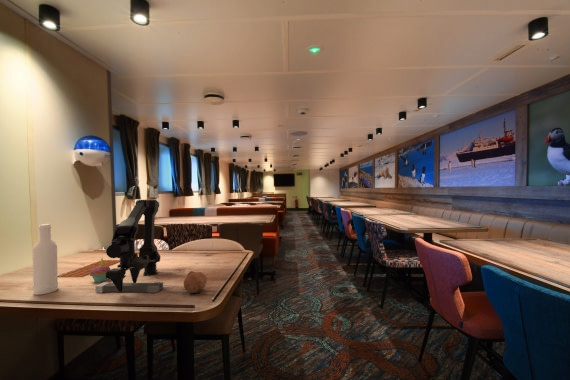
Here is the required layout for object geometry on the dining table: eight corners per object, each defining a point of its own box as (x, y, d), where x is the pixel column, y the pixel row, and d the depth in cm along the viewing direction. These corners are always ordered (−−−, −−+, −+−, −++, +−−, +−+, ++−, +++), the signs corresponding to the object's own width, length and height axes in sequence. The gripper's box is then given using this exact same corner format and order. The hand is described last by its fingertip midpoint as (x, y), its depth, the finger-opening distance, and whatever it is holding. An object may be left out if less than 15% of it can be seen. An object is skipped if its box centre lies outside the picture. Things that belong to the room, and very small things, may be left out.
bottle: (35, 296, 103) (35, 226, 103) (30, 292, 107) (29, 225, 107) (60, 289, 110) (59, 223, 110) (54, 286, 114) (53, 222, 114)
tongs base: (94, 293, 106) (94, 286, 106) (103, 288, 110) (103, 282, 110) (156, 293, 104) (156, 286, 104) (162, 288, 109) (162, 282, 109)
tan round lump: (187, 298, 105) (178, 277, 107) (207, 287, 111) (199, 267, 112) (190, 298, 98) (181, 275, 99) (212, 286, 103) (203, 264, 105)
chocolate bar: (123, 261, 155) (123, 259, 155) (81, 278, 126) (81, 276, 126) (102, 261, 156) (102, 259, 156) (55, 278, 126) (55, 276, 126)
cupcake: (114, 278, 123) (114, 255, 123) (95, 284, 115) (95, 259, 115) (104, 276, 126) (104, 253, 126) (85, 282, 119) (85, 257, 119)
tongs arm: (108, 289, 108) (108, 284, 108) (112, 287, 111) (112, 282, 111) (160, 289, 107) (160, 284, 107) (163, 287, 110) (163, 282, 110)
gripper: (130, 257, 98) (131, 296, 98) (156, 247, 117) (157, 279, 117) (104, 257, 98) (104, 296, 98) (134, 247, 117) (134, 279, 117)
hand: (127, 287), depth 108 cm, fingers open, 9 cm apart
